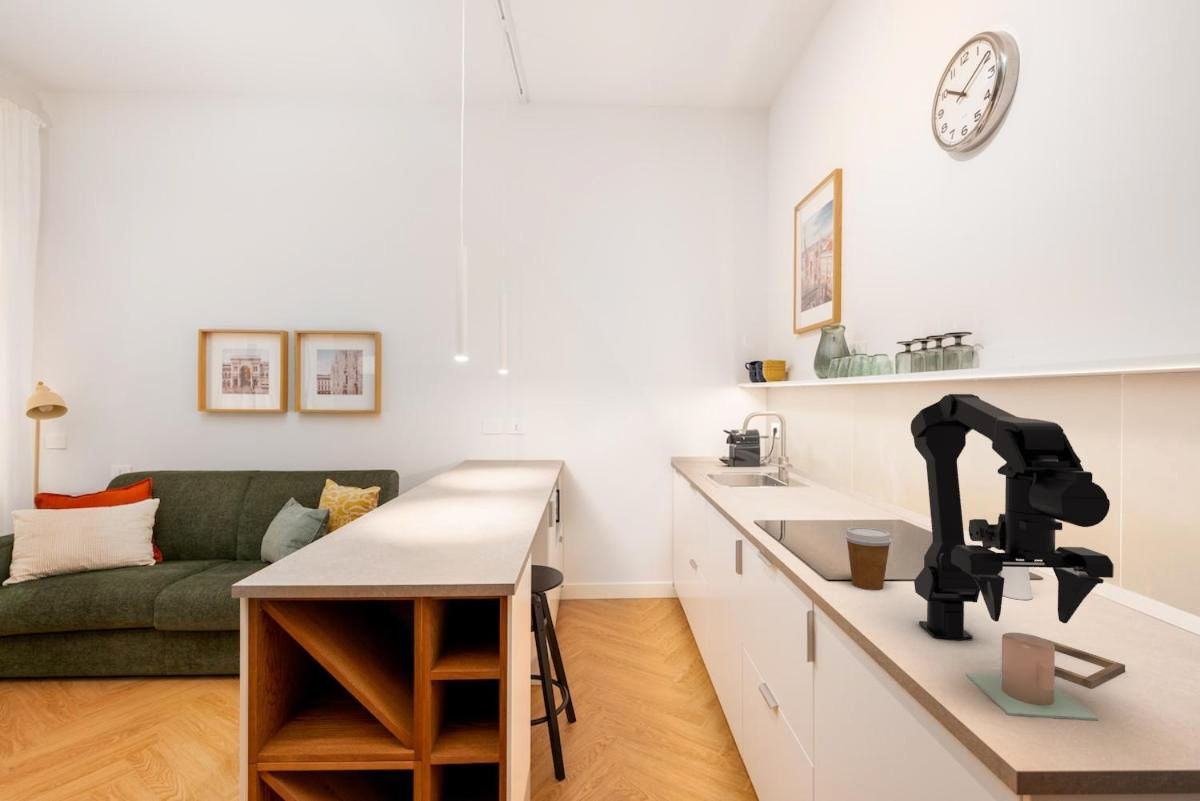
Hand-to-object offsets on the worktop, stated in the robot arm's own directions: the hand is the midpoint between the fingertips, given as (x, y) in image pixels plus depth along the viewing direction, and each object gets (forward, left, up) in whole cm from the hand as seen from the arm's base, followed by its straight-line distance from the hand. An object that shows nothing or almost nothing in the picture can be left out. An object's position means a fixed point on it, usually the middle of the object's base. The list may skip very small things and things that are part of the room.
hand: (1028, 621), depth 82 cm
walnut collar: (-11, +12, -11) cm, 20 cm away
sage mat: (0, 0, -11) cm, 11 cm away
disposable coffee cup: (-47, -6, -11) cm, 49 cm away
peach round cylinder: (0, 0, -10) cm, 10 cm away
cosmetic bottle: (-44, +23, -11) cm, 51 cm away
